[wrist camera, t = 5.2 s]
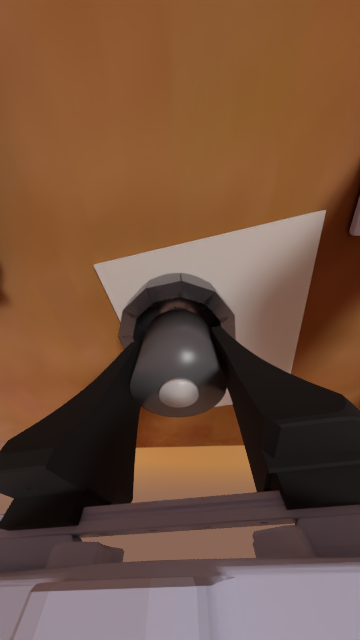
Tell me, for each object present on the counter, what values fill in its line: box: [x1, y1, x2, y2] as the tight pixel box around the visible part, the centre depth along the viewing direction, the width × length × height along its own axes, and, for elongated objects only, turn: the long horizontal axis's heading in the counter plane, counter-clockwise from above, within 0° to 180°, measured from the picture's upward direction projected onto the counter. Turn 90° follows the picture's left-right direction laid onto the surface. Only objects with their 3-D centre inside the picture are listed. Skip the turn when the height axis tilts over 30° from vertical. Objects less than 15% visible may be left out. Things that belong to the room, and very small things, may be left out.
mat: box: [94, 210, 326, 407], centre depth 16 cm, size 16×20×1 cm
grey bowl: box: [118, 273, 236, 349], centre depth 13 cm, size 8×8×3 cm
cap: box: [130, 309, 227, 417], centre depth 10 cm, size 5×5×5 cm
